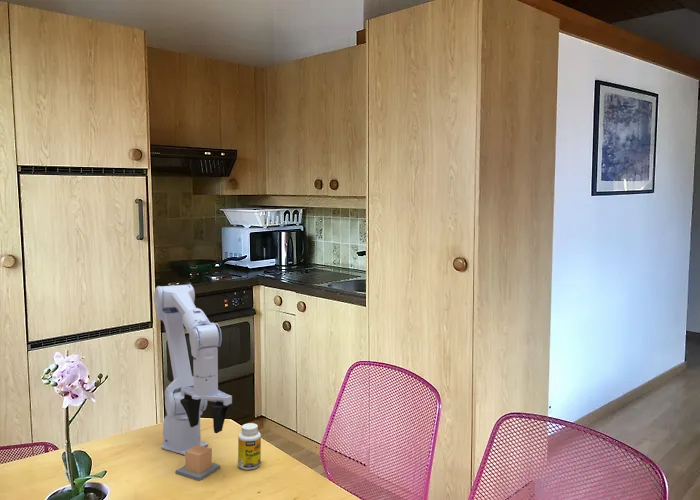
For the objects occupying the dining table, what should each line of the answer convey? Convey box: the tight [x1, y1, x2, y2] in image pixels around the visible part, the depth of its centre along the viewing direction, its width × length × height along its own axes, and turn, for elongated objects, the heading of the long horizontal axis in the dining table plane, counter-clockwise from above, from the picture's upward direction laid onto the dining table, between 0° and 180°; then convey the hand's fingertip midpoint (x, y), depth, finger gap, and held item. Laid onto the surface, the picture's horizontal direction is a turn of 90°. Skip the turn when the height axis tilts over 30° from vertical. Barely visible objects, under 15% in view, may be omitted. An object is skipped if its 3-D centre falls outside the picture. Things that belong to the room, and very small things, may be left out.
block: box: [184, 445, 213, 474], centre depth 140 cm, size 4×4×4 cm
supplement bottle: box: [237, 422, 262, 471], centre depth 143 cm, size 6×6×10 cm
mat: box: [175, 462, 222, 482], centre depth 140 cm, size 8×8×1 cm
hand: (206, 428), depth 140 cm, fingers open, 7 cm apart
